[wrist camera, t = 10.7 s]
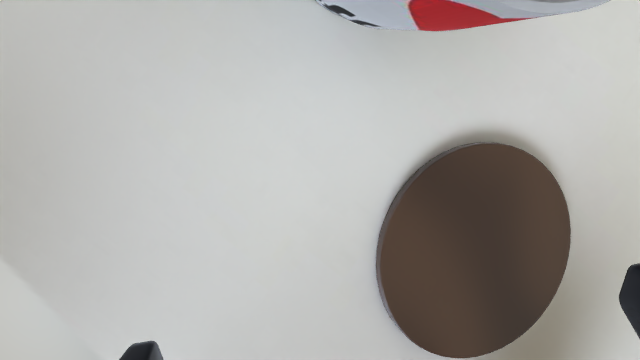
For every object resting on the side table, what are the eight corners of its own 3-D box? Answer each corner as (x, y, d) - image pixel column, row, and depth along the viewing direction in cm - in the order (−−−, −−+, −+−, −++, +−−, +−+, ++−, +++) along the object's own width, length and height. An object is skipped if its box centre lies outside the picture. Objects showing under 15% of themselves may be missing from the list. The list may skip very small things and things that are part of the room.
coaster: (469, 391, 23) (476, 397, 23) (329, 269, 20) (333, 273, 19) (595, 235, 24) (604, 238, 23) (481, 94, 21) (488, 94, 20)
